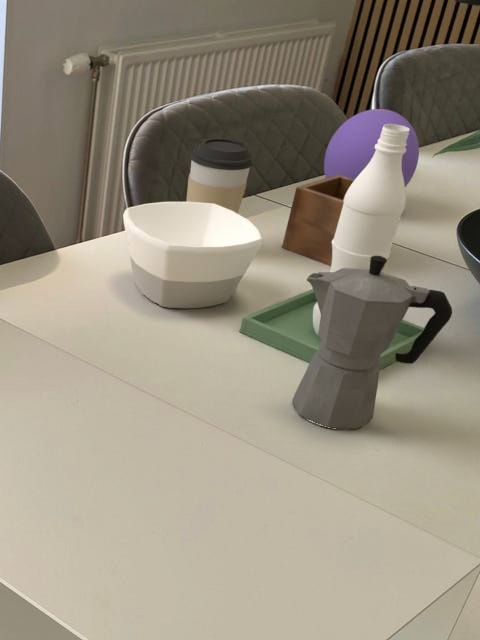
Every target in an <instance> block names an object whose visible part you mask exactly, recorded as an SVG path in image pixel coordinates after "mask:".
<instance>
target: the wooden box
mask: <svg viewBox="0 0 480 640" xmlns="http://www.w3.org/2000/svg"><path fill="white" fill-rule="evenodd" d="M354 180H355V179H352V178H349V177H346V176H343V175H340V174H338V175H334V176H331V177H328V178H322V179H318V180H316V181H311V182H309V183H305V184H302V185H299V186H296V188H295V192H294V195H293V200H292V204H291V208H290V212H289V216H288V221H287V224H286V229H285V231H284V232H285V233H284V237H283V241H282V244H281V248H283V249H284V250H285V249H286V250H288V251H290V252H293V253H296V254H299V255H302V256H305V257H306V258H308V259H311V260H315V261H316V262H320V263H322V264H325V265H328V266H330V267H331V264H332V240H333V239H334V236H335V232H336V229H337V225H338V222H339V218H340V214H341V211H342V207H343V204H344V202H343V200H344V197H345V194H346V192H347V190H348V189H349V187H350V186H351V184H352V183H353V182H354Z"/></svg>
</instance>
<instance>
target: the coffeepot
mask: <svg viewBox="0 0 480 640" xmlns="http://www.w3.org/2000/svg"><path fill="white" fill-rule="evenodd" d="M387 262H388V259H387V260H386V258H384V257H382V256H372V257H371V260H370V269H351V268H342V269H340V270H338V271H336V272H330V271H318V272H313V273H311V274H310V275H308V276H307V278H306V282H307V283H309V285H311V287H312V288H311V289H313V290H314V293H315V296H316V299H317V303H318V306H319V310H320V313H321V317H320V325H319V333H318V335H319V337H320V339H321V343H320V346H319V349H318V351H317V352H316V353H315V354H314V356H313V358H312V360H311V362H310V363H309V364H308V365H307V368H306V370H305V372H304V374H303V377H302V378H301V380H300V382H299V385H298V386H297V389H296V391H295V393H294V395H293V396H292V399H291V402H292V405H293V407H295V408H294V410H295V409H296V410H295V412H296V411H297V412H298V413H299V414H298V413H297V412H296V413H297V414H298V415H299V416H300V418H302V417H303V418H302V419H304V418H305V419H308V420H311V421H313V422H315V423H318V424H321V425H323V426H326V427H330V428H336V429H346V430H345V431H351V429H352V430H356V429H360V428H362V427H365V426H366V424H368V423H369V421H370V420H372V419H373V418H374V413H375V406H376V399H377V394H378V393H377V392H378V386H379V385H378V384H379V379H380V371H381V369H380V366H379V363H378V362H379V359H380V356H381V353H383V352H384V351H386V350H387V349H388V347H389V345H390V343H391V341H392V339H393V337H394V335H395V333H396V331H397V330H398V328H399V326H400V324H401V322H402V320H404V318H405V316H406V314H407V312H408V310H409V308H414V309H415V308H417V309H432V310H433V311H434V314H433V315H432V316H431V317H430V318H429V319H428V321H427V322H426V324H425V326H424V327H423V328H424V330H423V332H422V333H421V334H420V335H419V336H418V337H417V338H416V339H415V341H414V343H413V346H412V348H411V350H410V352H408V353H406V354H398V353H396V354H395V356H396V362H397V363H400V364H407V365H413V364H415V363H416V362H417V361H418V359H419V358H420V357H421V355H422V354H423V353H424V352H425V351H426V349H427V348H428V347H429V346H430V344H431V343H432V342H433V341H434V340H435V338H436V337H437V336H438V334H439V333H440V332H441V331H442V329H443V328H444V327H445V326H446V325H447V323H449V321H450V320H451V318H452V315H453V308H452V305H451V303H450V301H449V300H448V297H447V296H446V294H445V292H443V291H441V290H435V289H429V288H427V287H423V286H422V287H421V286H416V285H410V283H408V282H407V280H406V279H403V278H401V277H398V276H395V275H392V274H388V273H386V272H383V271H382V270H383V269H384V267H385V265H386V263H387ZM305 419H304V420H305ZM330 428H329V429H330ZM336 429H335V430H336ZM347 429H348V430H347ZM349 429H350V430H349Z"/></svg>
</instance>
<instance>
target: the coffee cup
mask: <svg viewBox="0 0 480 640" xmlns="http://www.w3.org/2000/svg"><path fill="white" fill-rule="evenodd" d="M189 158H190V160H191V162H190V164H191V165H190V172H189V173H188V178H187V179H188V180H187V189H186V191H187V192H186V201H185V202H199V203H212V204H216V205H219V206H221V207H224V208H226V209H229V210H231V211H234V212H235V213H237V214H239V211H240V209H241V204H242V202H243V198H244V194H245V191H246V187H247V184H248V177H249V173H250V170H251V167H252V166H253V155H252V154H251V153H250V152H249V146H248V142H247V141H245V140H243V139H241V140H233V139H229V138H223V137H210V138H205V139H202V141H201V142H200V144H199V145H197V146H195V147H194V148H193V151H192V153H191V154H190V157H189Z"/></svg>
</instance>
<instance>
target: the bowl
mask: <svg viewBox="0 0 480 640" xmlns="http://www.w3.org/2000/svg"><path fill="white" fill-rule="evenodd" d="M122 218H123V219H122V220H123V227H124V232H125V237H126V238H125V239H126V243H127V248H128V255H129V257H130V258H129V259H130V264H131V270H132V277H133V281H134V285H135V286H136V288H137V289H138V291H139V293H140V294H141V295H143V296H144V295H145V296H144V297H146V298H147V299H149V300H150V301H151V302H153V303H155V304H156V303H157V304H156V305H158V304H159V305H158V306H160V307H162V308H166V307H167V309H201V308H208V307H214V306H217V305H221V304H225V303H227V302H228V301H229V300H230V298H231V296H232V295H233V294H234V291H235V290H236V289H237V287H238V285H239V284H240V282H241V280H242V278H243V277H244V275H245V274H246V272H247V271H248V269H249V267H250V266H251V264H252V263H253V261H254V260H255V258H256V256H257V254H258V253H259V251H260V250H261V248H262V246H263V239H262V236H261V233H260V230H259V228H258V227H256V226H255V224H254V223H252V222H251V221H250V219H248V218H246V217H245V216H243V215H241V214H239V213H238V214H237V213H235V212H234V211H231V210H229V209H226V208H224V207H221V206H219V205H216V204H212V203H199V202H186V201H160V202H151V203H150V202H149V203H143V204H139V205H134V206H130V207H127V208H125V210H124V212H123V216H122Z"/></svg>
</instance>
